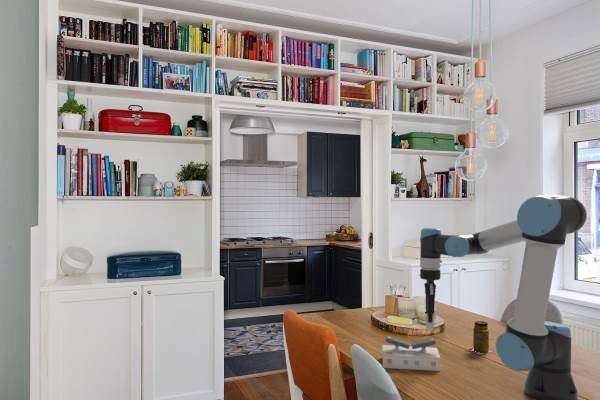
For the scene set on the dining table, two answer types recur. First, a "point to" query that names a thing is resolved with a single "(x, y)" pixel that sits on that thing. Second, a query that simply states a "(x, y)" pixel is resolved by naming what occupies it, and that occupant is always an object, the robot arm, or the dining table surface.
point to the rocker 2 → (423, 343)
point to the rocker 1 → (397, 342)
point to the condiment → (480, 338)
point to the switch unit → (411, 358)
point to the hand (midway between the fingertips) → (429, 330)
